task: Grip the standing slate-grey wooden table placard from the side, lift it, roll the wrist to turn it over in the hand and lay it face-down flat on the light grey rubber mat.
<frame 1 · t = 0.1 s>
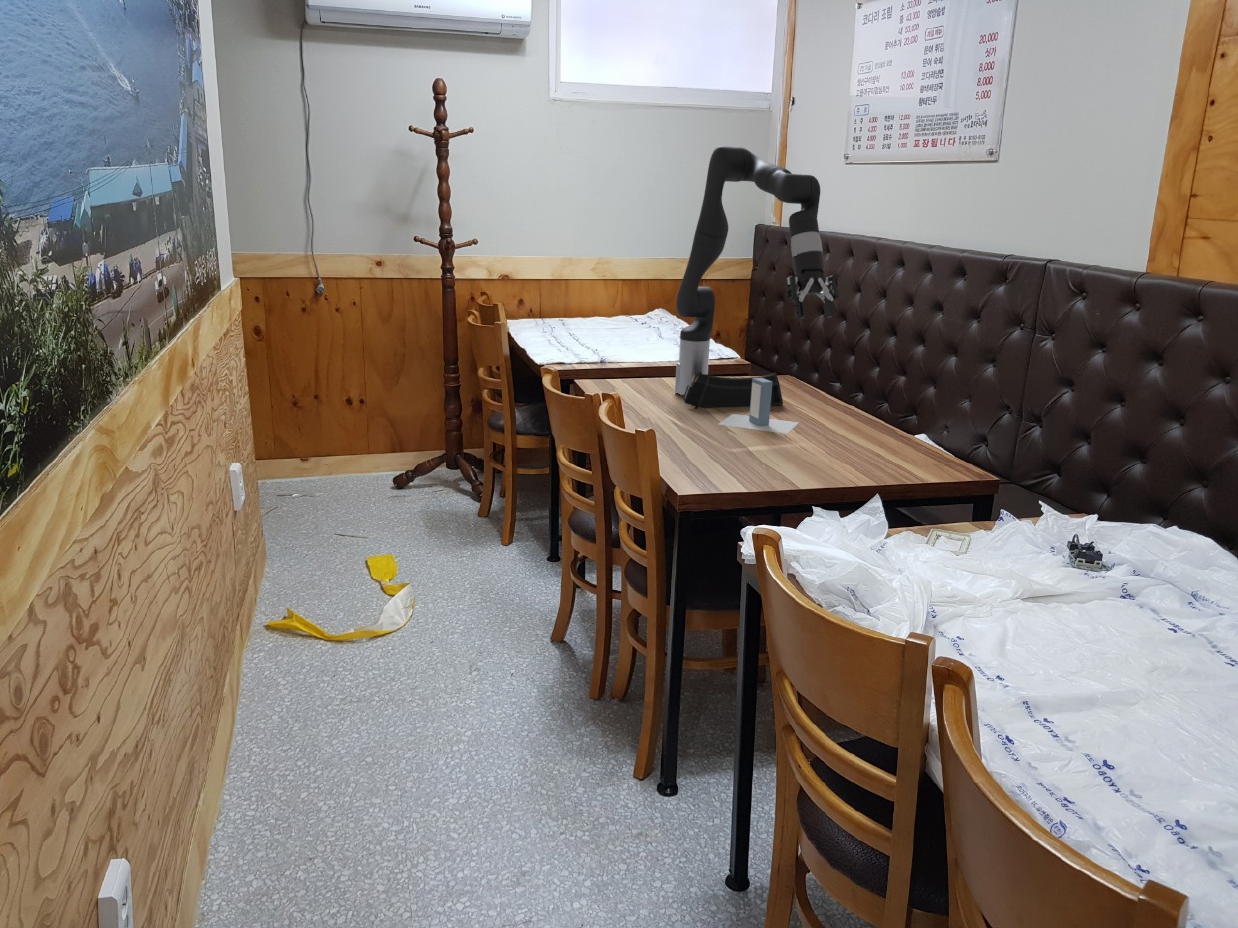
hand: (815, 317, 221), 31 cm above the table, tool tilted 20°, fingers open, 8 cm apart
mat: (758, 426, 241), on the table
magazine: (732, 409, 261), on the table
placard: (758, 423, 241), point 1 cm above the table, touching mat
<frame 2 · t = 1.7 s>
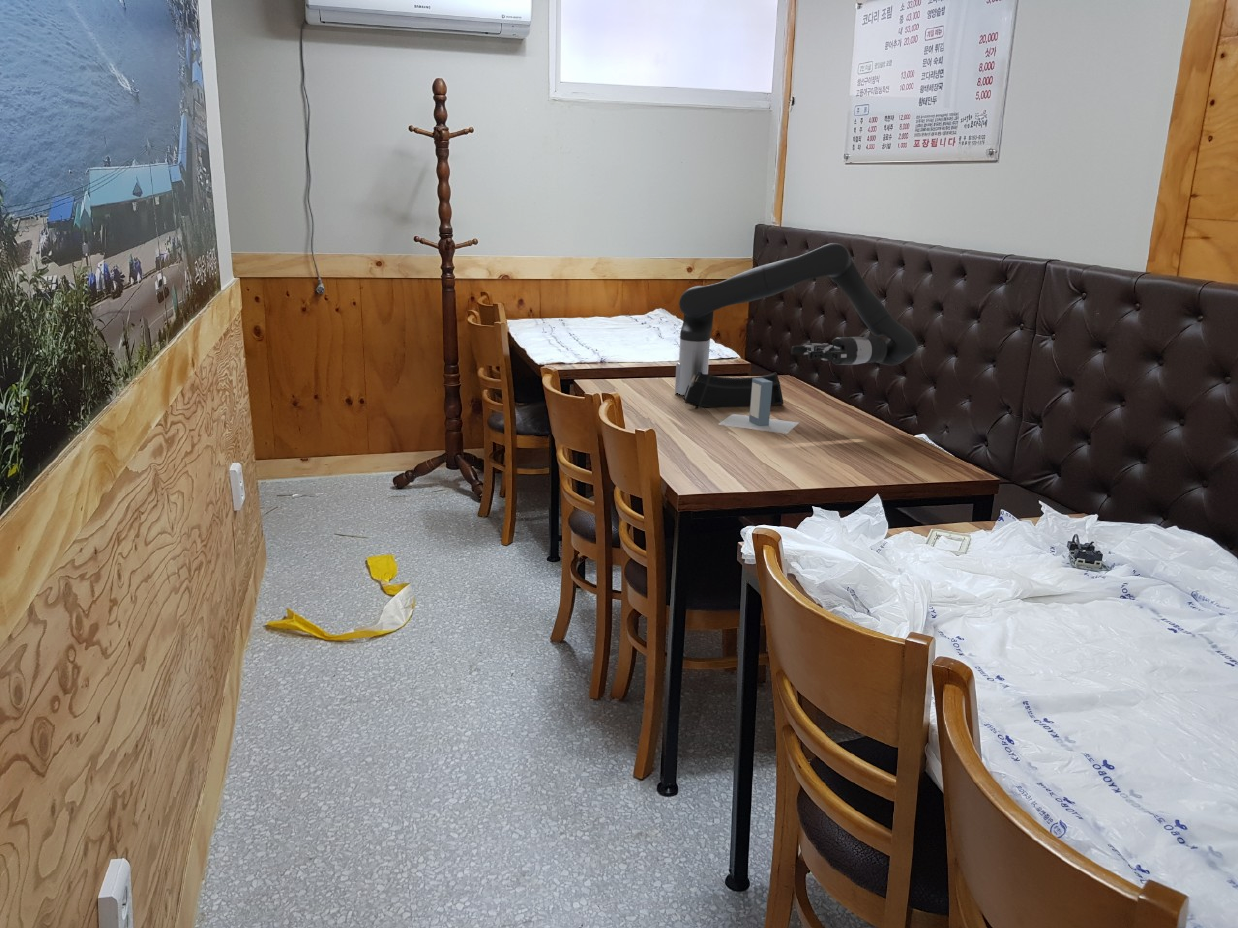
hand: (800, 352, 239), 20 cm above the table, tool horizontal, fingers open, 8 cm apart
nothing on the table moved.
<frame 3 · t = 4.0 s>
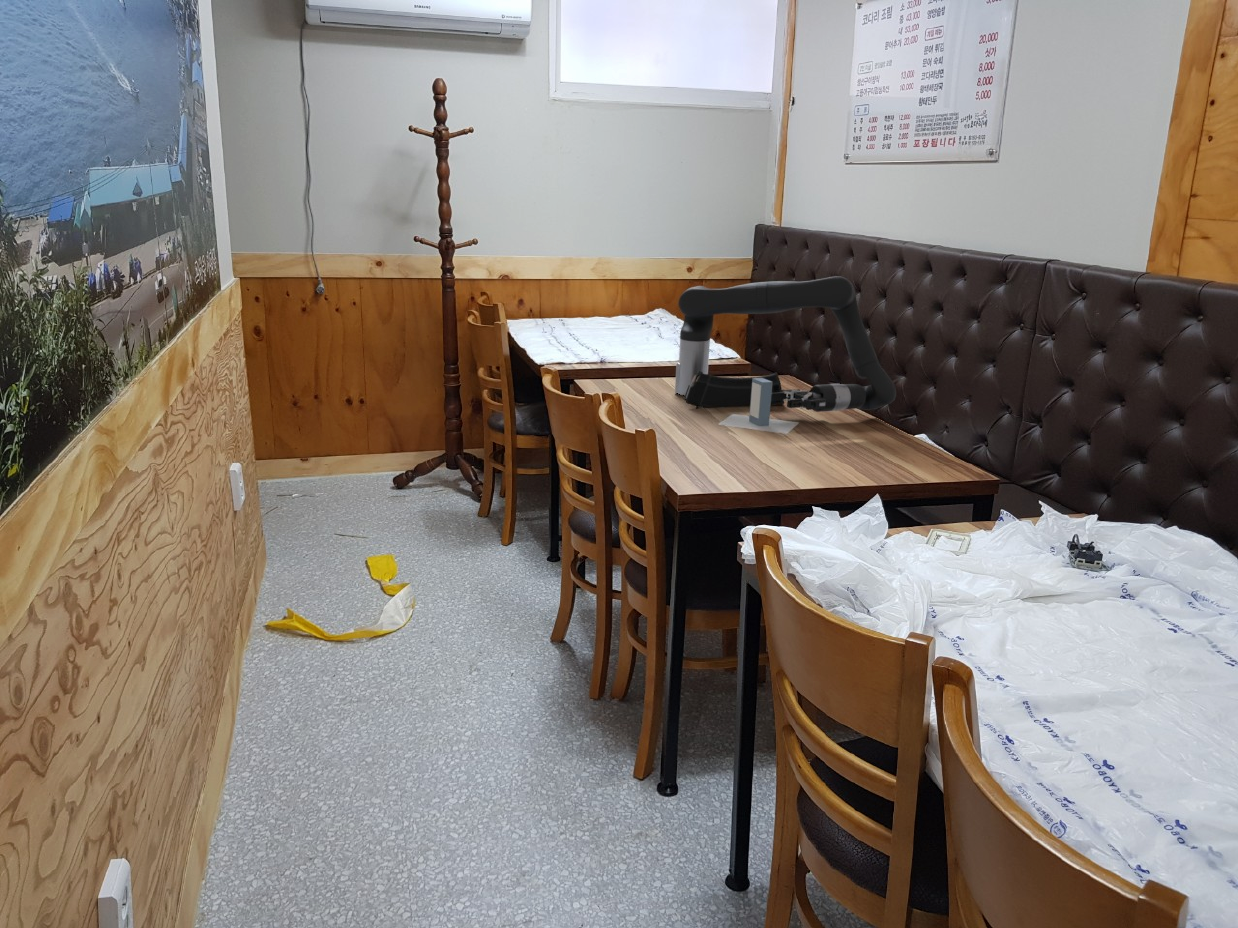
hand: (779, 400, 241), 7 cm above the table, tool horizontal, fingers open, 8 cm apart
nothing on the table moved.
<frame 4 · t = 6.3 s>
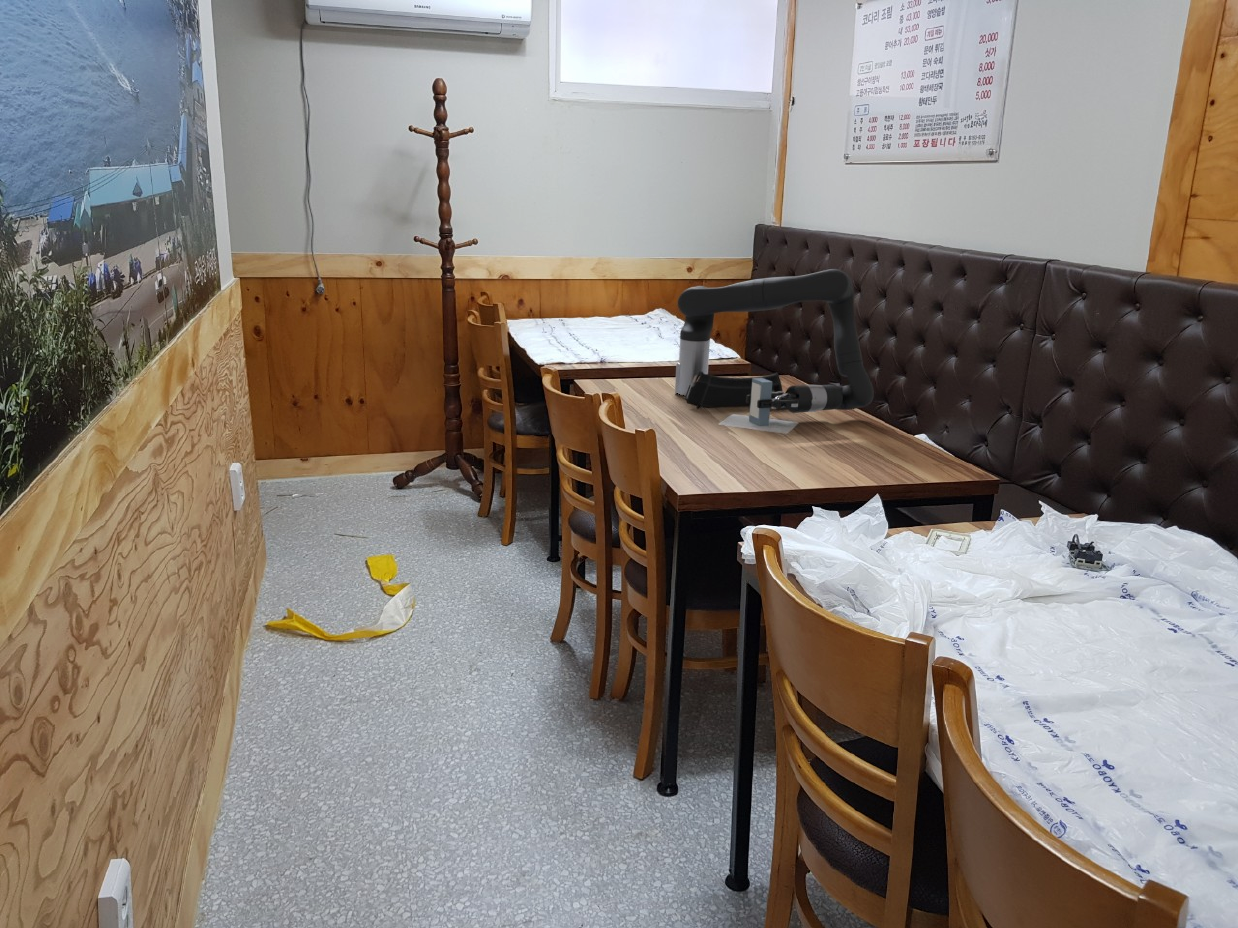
hand: (752, 401, 238), 7 cm above the table, tool horizontal, fingers closed on placard, 5 cm apart
placard: (758, 423, 241), point 1 cm above the table, touching gripper, mat
everything else where it was.
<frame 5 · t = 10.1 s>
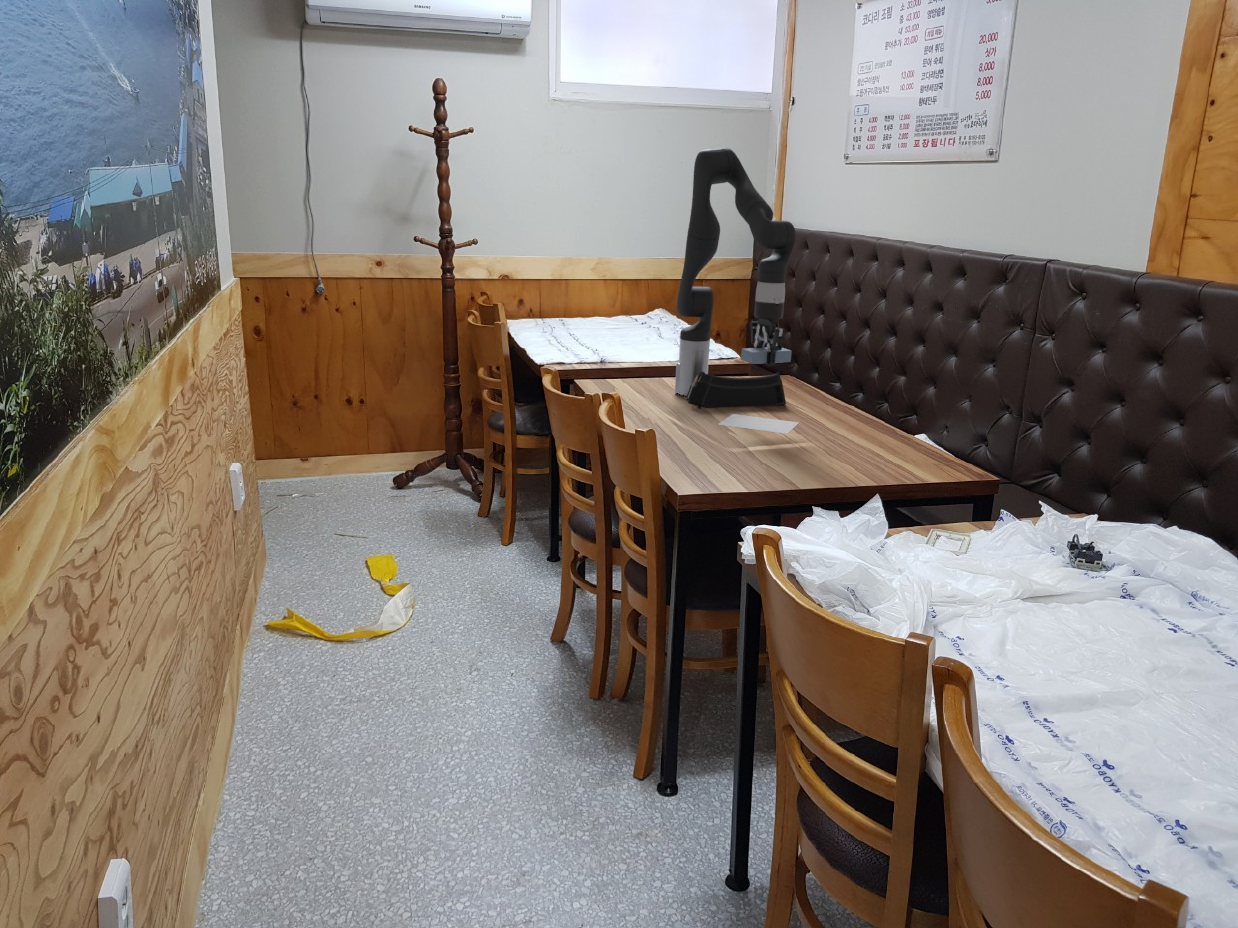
hand: (764, 363, 236), 17 cm above the table, tool pointing down, fingers closed on placard, 5 cm apart
placard: (785, 354, 238), point 20 cm above the table, tilted 90°, touching gripper
everything else where it was.
when the fingers open (2 cm above the table, at t = 13.1 s): placard drops 2 cm, resting on mat.
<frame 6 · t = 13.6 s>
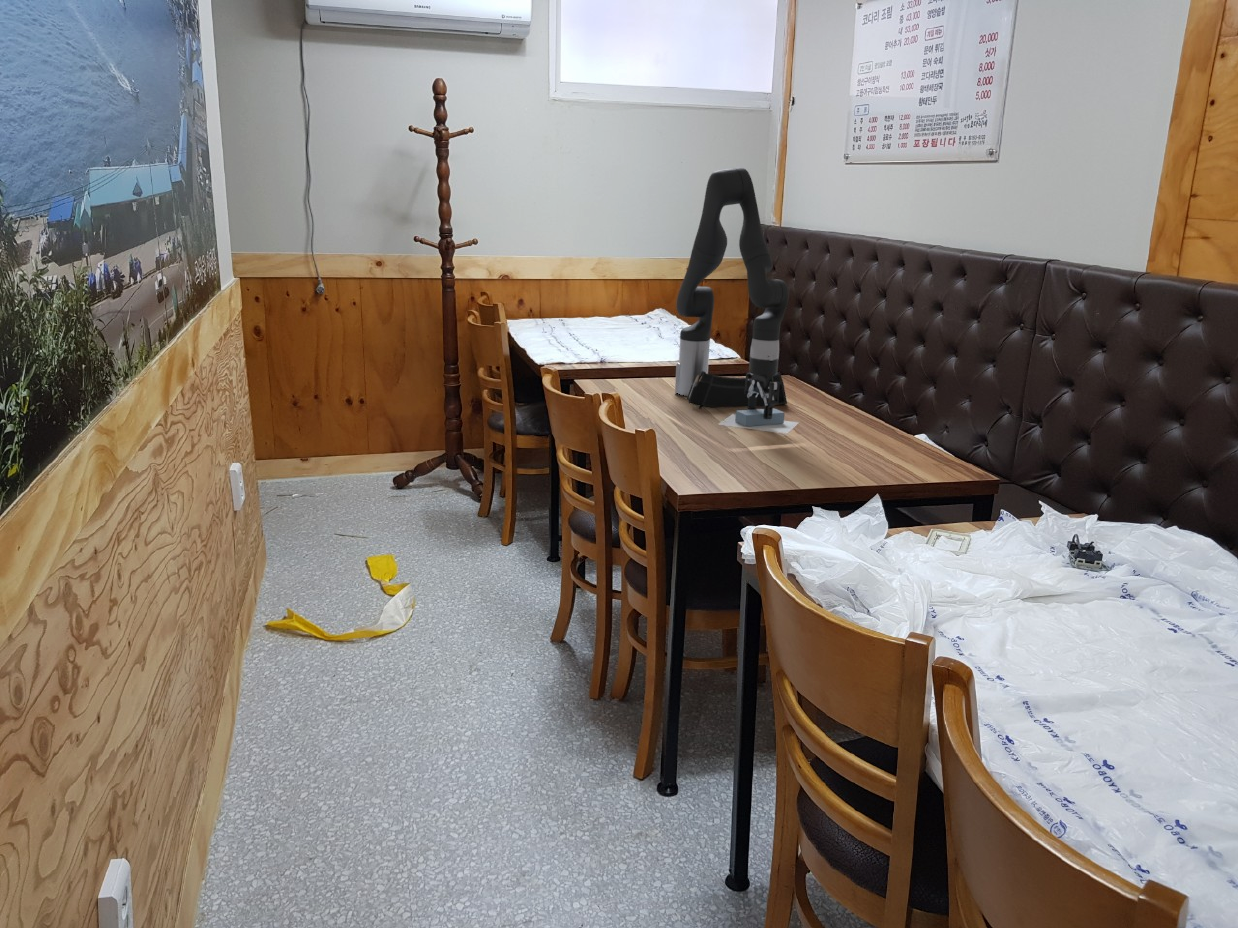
hand: (759, 415, 240), 3 cm above the table, tool pointing down, fingers open, 8 cm apart
placard: (778, 415, 243), point 2 cm above the table, tilted 90°, touching mat
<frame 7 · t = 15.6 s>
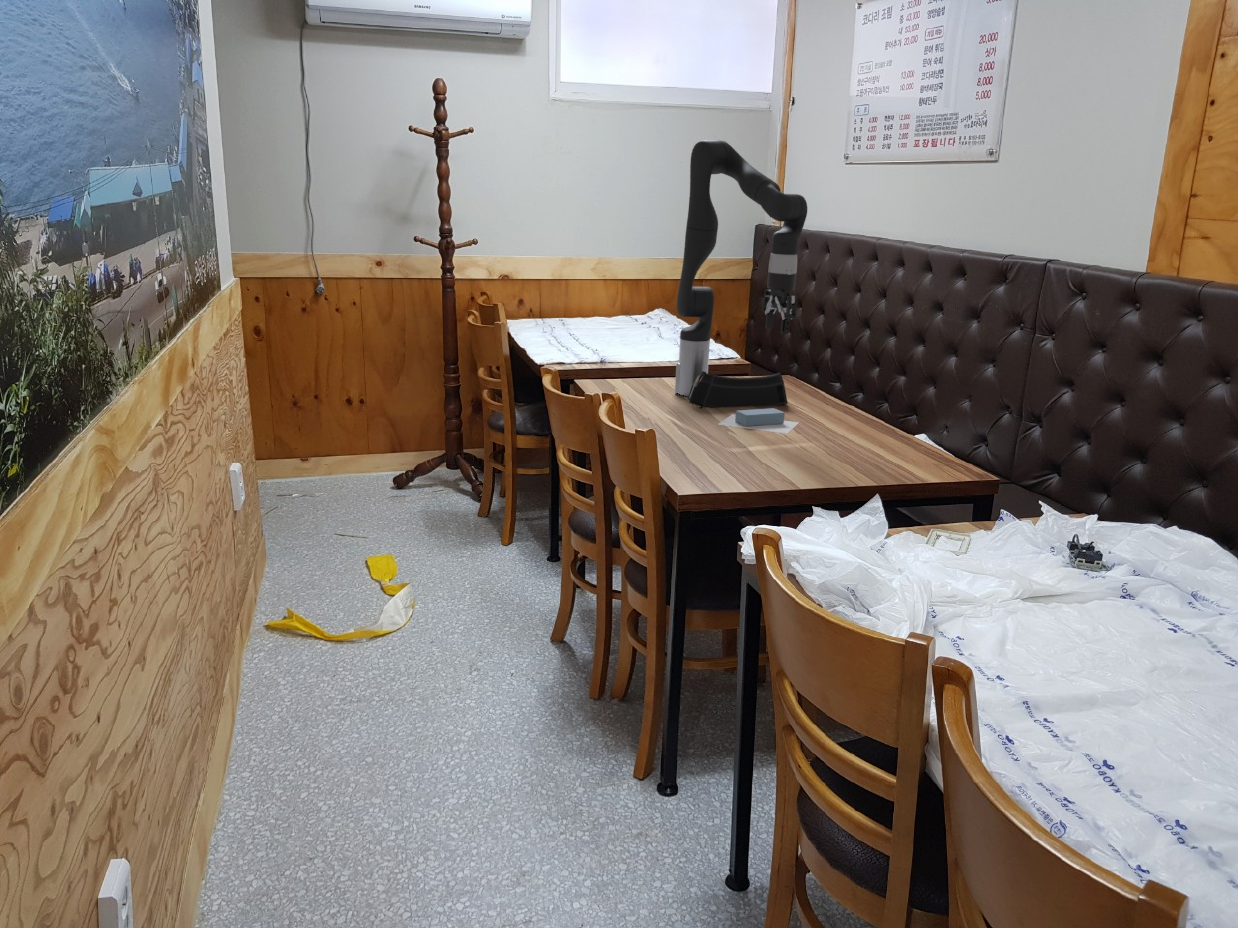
hand: (776, 330, 244), 25 cm above the table, tool pointing down, fingers open, 8 cm apart
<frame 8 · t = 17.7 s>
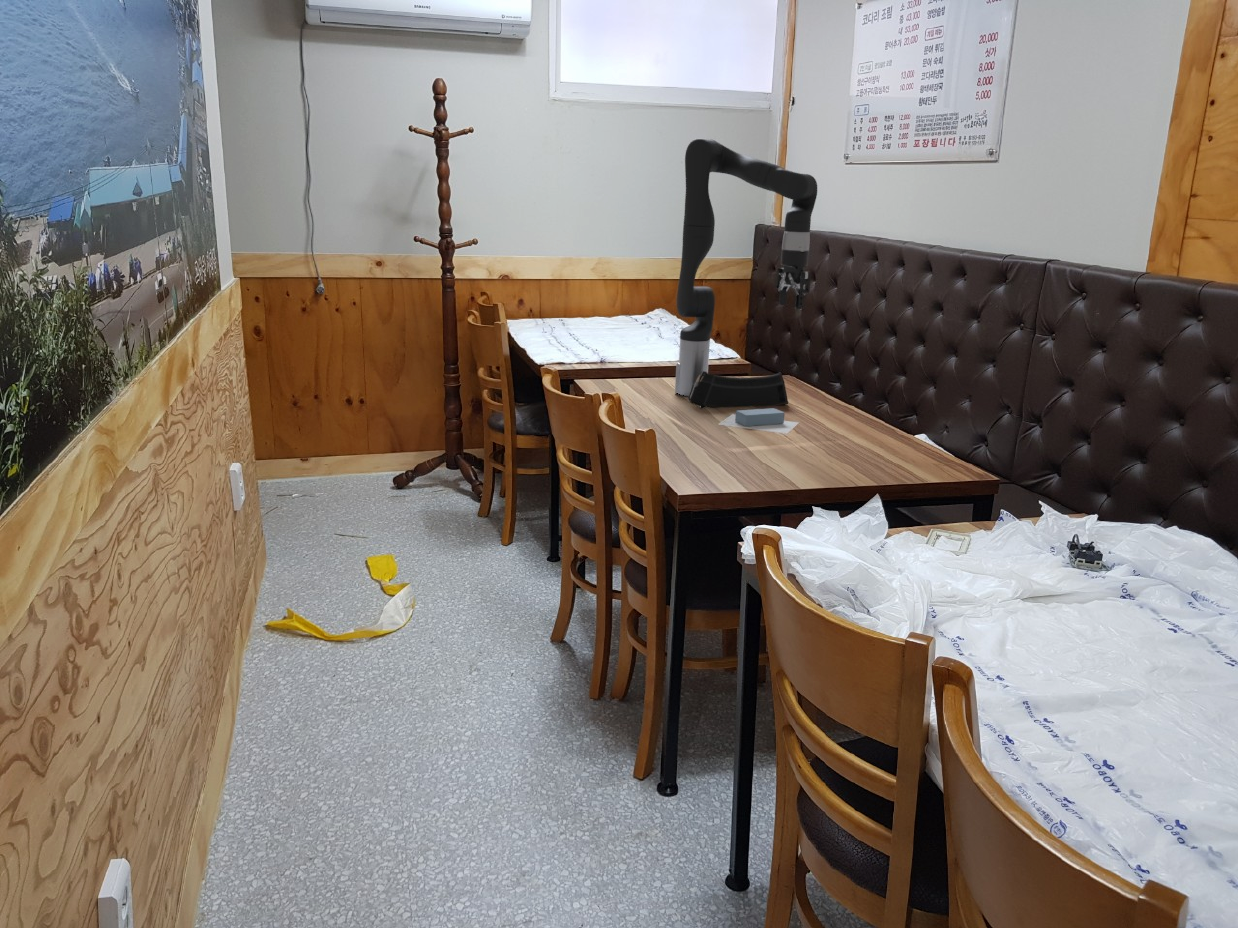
hand: (790, 306, 253), 30 cm above the table, tool pointing down, fingers open, 8 cm apart
at the end: placard tilted 90°; placard touching mat; placard 6.4 cm from the mat (horizontally) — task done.
